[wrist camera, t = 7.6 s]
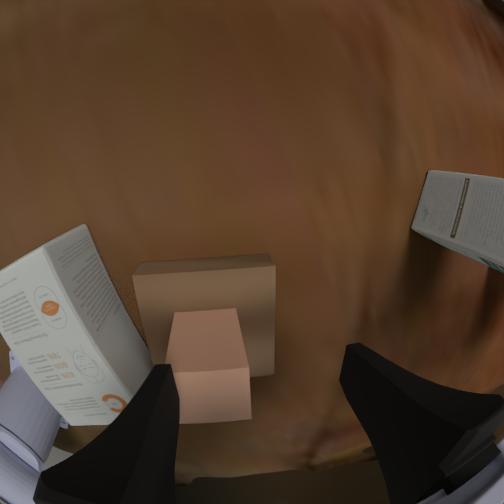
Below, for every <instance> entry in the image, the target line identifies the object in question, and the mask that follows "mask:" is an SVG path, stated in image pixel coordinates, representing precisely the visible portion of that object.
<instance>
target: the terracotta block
mask: <svg viewBox="0 0 504 504" xmlns="http://www.w3.org/2000/svg"><path fill="white" fill-rule="evenodd" d="M165 364H171V367H172V371H173V375H174V379H175V383H176V387H177V390H178V394H179V398H180V421H179V424H193V423H213V422H227V421H237V420H247V419H252V417H251V397H250V376H249V365H248V360H247V356H246V352H245V347H244V343H243V338H242V334H241V329H240V325H239V320H238V315H237V311H236V308H231V309H219V310H206V311H191V312H175V313H174V318H173V323H172V328H171V333H170V339H169V344H168V350H167V355H166V361H165Z"/></svg>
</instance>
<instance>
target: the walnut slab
mask: <svg viewBox="0 0 504 504" xmlns="http://www.w3.org/2000/svg"><path fill="white" fill-rule="evenodd" d="M132 278H133V284H134V289H135V294H136V299H137V303H138V308H139V312H140V317H141V321H142V325H143V329H144V333H145V337H146V341H147V345H148V349H149V352H150V356H151V359H152V363H153V366H155V365H156V364H165V361H166V355H167V350H168V344H169V339H170V333H171V328H172V323H173V318H174V313H175V312H191V311H206V310H219V309H231V308H236V311H237V315H238V320H239V325H240V329H241V334H242V338H243V343H244V347H245V352H246V356H247V360H248V365H249V376H250V377H258V376H266V375H274V358H275V295H276V266H275V264H274V263H273V261H272V259H271V258H270V256H269V255H268V254H254V255H239V256H225V257H211V258H196V259H182V260H167V261H153V262H141V263H140V264H139V266H138V267H137V269H136V270H135V272H134V273H133V275H132Z"/></svg>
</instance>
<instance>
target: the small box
mask: <svg viewBox="0 0 504 504" xmlns="http://www.w3.org/2000/svg"><path fill="white" fill-rule="evenodd" d="M0 333H1V334H2V336H3V338H4V339H5V341H6V343H7V344H8V346H9V347H10V349H11V351H12V352H13V354H14V355H15V357H16V358H17V360H18V361H19V363H20V364H21V365H22V367H23V368H24V370H25V371H26V373H27V374H28V375H29V377H30V378H31V379H32V381H33V382H34V383H35V385H36V386H37V387H38V388H39V390H40V391H41V392H42V393H43V395H44V396H45V397H46V398H47V400H48V401H49V402H50V403H51V404H52V405H53V407H54V408H55V409H56V410H57V411H58V412H59V413H60V414H61V415H62V417H63V418H64V419H65V420H66V421H67V422H68V423H69V424H70V425H71V426H77V425H108V424H111V423H112V422H113V421H114V420H115V418H116V417H117V416H118V415H119V414H120V413H121V411H122V410H123V409H124V408H125V407H126V405H127V404H128V403H129V402H130V400H131V399H132V398H133V396H134V395H135V394H136V392H137V391H138V389H139V388H140V387H141V385H142V384H143V382H144V381H145V379H146V378H147V376H148V375H149V373H150V371H151V370H152V368H153V367H154V366H153V363H152V359H151V356H150V352H149V350H148V348H147V346H146V345H145V343H144V341H143V340H142V338H141V336H140V334H139V333H138V331H137V329H136V328H135V326H134V324H133V322H132V320H131V319H130V317H129V315H128V313H127V311H126V309H125V307H124V306H123V304H122V302H121V300H120V298H119V296H118V294H117V292H116V290H115V288H114V286H113V284H112V282H111V280H110V277H109V275H108V273H107V271H106V269H105V267H104V265H103V263H102V260H101V258H100V256H99V254H98V251H97V249H96V247H95V244H94V242H93V239H92V237H91V234H90V232H89V230H88V227H87V225H85V224H82V225H80V226H78V227H76V228H74V229H72V230H70V231H68V232H67V233H65V234H63V235H61V236H59V237H57V238H55V239H53V240H51V241H49V242H48V243H46V244H44V245H42V246H40V247H38V248H37V249H35V250H33V251H31V252H30V253H28V254H26V255H25V256H23V257H21V258H20V259H18V260H16V261H15V262H13V263H11V264H10V265H8V266H7V267H5V268H3V269H2V270H0Z"/></svg>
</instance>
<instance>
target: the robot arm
mask: <svg viewBox="0 0 504 504" xmlns="http://www.w3.org/2000/svg"><path fill="white" fill-rule="evenodd" d="M9 356H10V368H11V374H10V376H9V377H8V379H7V380H6V382H5V383H4V384H3V386H2V387H1V389H0V499H1V500H2V501H4V502H5V503H7V504H176V498H175V475H174V470H175V457H176V447H177V439H178V430H179V421H180V398H179V394H178V390H177V387H176V383H175V379H174V375H173V371H172V367H171V364H156V365H155V366H154V367H153V368H152V370H151V371H150V373H149V375H148V376H147V378H146V379H145V381H144V382H143V384H142V385H141V387H140V388H139V389H138V391H137V392H136V394H135V395H134V396H133V398H132V399H131V400H130V402H129V403H128V404H127V405H126V407H125V408H124V409H123V410H122V411H121V413H120V414H119V415H118V416H117V417H116V418H115V420H114V421H113V422H112V423H111V424H110V425H109V426H108V427H107V428H106V429H105V430H104V431H103V432H102V433H101V434H99V435H98V436H97V437H96V438H95V439H94V440H93V441H91V442H90V443H89V444H88V445H86V446H85V447H84V448H82V449H81V450H79V451H78V452H76V453H75V454H73V455H72V456H70V457H69V458H67V459H66V460H64V461H62V462H60V463H58V464H56V465H54V466H52V467H50V468H48V466H46V465H45V464H44V462H45V461H46V460H47V458H48V456H49V453H50V450H51V448H52V445H53V442H54V440H55V437H56V435H57V432H58V430H59V427H62V428H64V429H67V428H68V422H67V421H66V420H65V419H64V418H63V417H62V415H61V414H60V413H59V412H58V411H57V410H56V409H55V408H54V407H53V405H52V404H51V403H50V402H49V401H48V400H47V398H46V397H45V396H44V395H43V393H42V392H41V391H40V390H39V388H38V387H37V386H36V385H35V383H34V382H33V381H32V379H31V378H30V377H29V375H28V374H27V373H26V371H25V370H24V368H23V367H22V365H21V364H20V363H19V361H18V360H17V358H16V357H15V355H14V354H13V352H12V351H11V350H10V352H9ZM339 381H340V383H341V386H342V389H343V391H344V394H345V396H346V398H347V400H348V402H349V404H350V406H351V407H352V409H353V411H354V413H355V414H356V416H357V418H358V420H359V421H360V423H361V425H362V427H363V428H364V430H365V432H366V433H367V435H368V437H369V439H370V441H371V444H372V446H373V448H374V451H375V454H376V456H377V459H378V462H379V464H380V467H381V470H382V473H383V476H384V480H385V483H386V486H387V490H388V495H389V499H390V503H391V504H502V503H503V502H504V438H503V439H502V440H501V441H500V442H499V443H498V444H497V445H495V443H494V441H495V440H496V437H495V436H494V434H493V433H494V432H495V430H496V429H497V428H498V426H499V425H500V424H501V422H502V421H503V420H504V399H503V398H502V396H500V395H495V394H479V393H472V392H466V391H461V390H457V389H453V388H449V387H446V386H442V385H439V384H436V383H434V382H431V381H429V380H426V379H424V378H421V377H419V376H417V375H415V374H413V373H411V372H409V371H407V370H405V369H403V368H401V367H400V366H398V365H396V364H394V363H393V362H391V361H389V360H388V359H386V358H384V357H383V356H381V355H379V354H378V353H376V352H374V351H373V350H371V349H369V348H368V347H366V346H364V345H363V344H361V343H354V344H349V345H346V350H345V355H344V360H343V365H342V369H341V374H340V378H339ZM0 504H1V503H0Z"/></svg>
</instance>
